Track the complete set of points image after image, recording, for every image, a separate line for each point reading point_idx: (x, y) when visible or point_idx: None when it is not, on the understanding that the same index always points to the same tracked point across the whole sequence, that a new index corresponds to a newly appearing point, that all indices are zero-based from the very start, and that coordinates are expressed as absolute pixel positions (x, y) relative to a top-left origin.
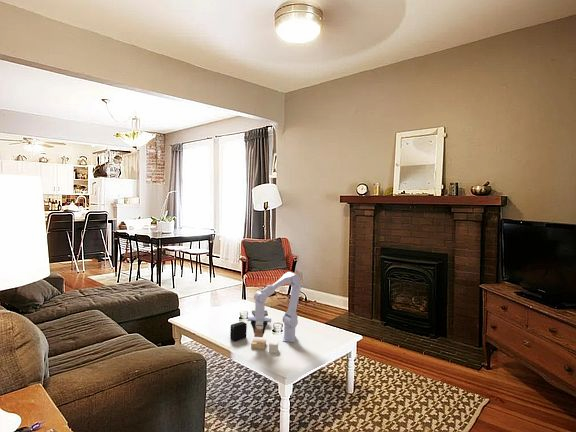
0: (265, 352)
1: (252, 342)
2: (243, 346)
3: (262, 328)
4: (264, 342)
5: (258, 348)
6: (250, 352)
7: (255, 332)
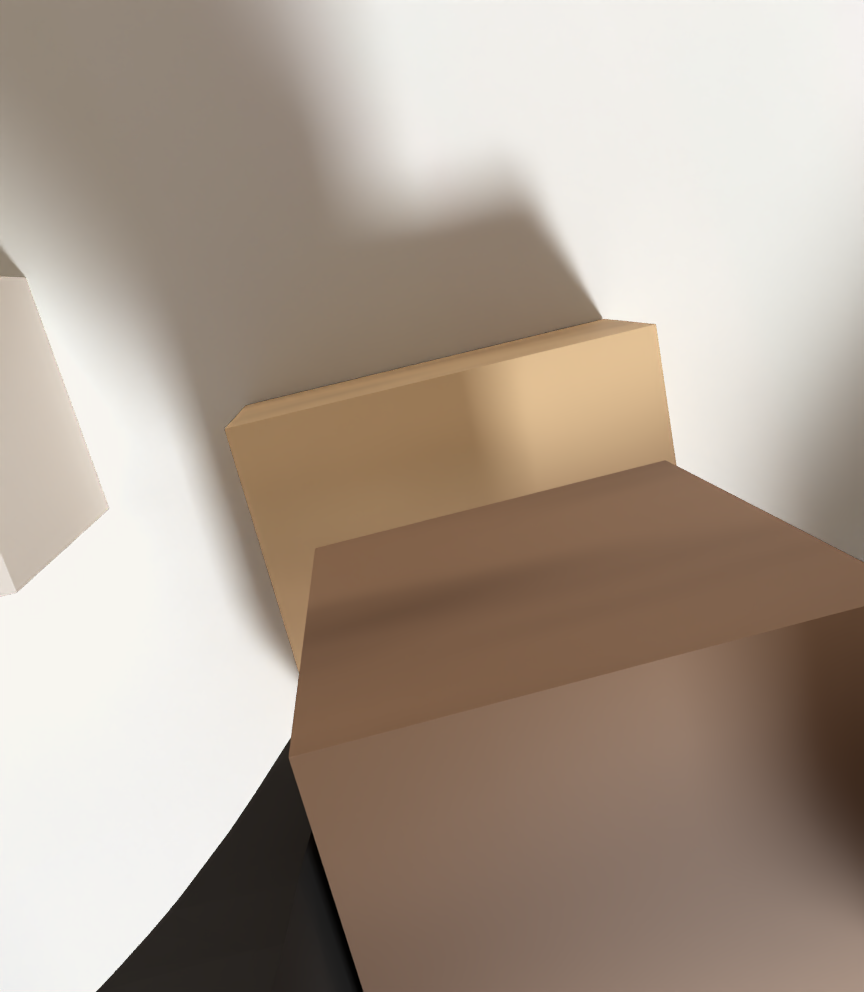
0: (107, 220)
1: (645, 422)
2: (833, 353)
3: (374, 905)
4: (285, 580)
5: (399, 368)
6: (517, 39)
7: (709, 527)
